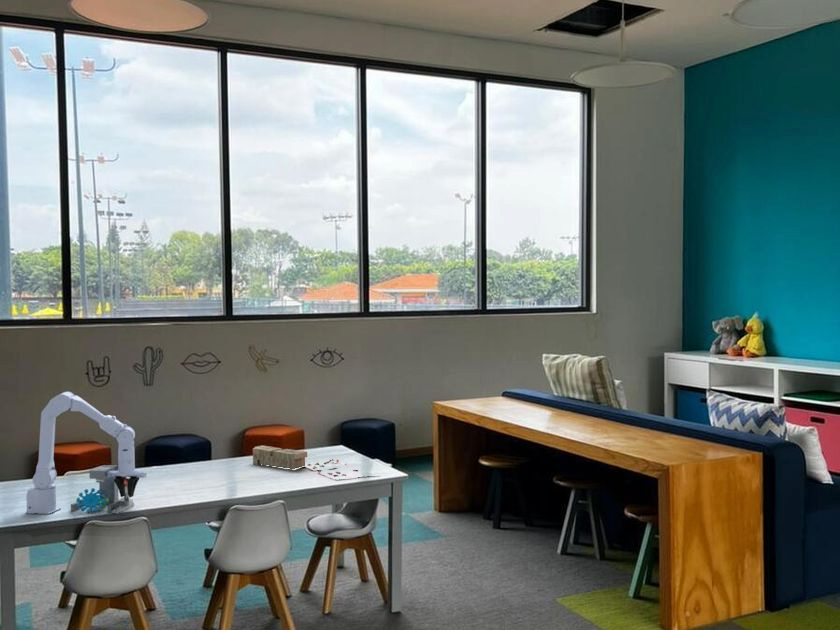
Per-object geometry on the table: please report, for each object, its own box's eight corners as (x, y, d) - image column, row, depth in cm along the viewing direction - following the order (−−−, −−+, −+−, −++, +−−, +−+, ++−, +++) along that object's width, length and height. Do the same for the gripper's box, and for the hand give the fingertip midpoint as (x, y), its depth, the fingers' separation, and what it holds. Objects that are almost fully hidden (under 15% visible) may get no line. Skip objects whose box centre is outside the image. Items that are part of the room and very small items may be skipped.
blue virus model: (73, 510, 298) (79, 486, 305) (73, 518, 302) (78, 494, 309) (106, 512, 301) (110, 488, 308) (105, 520, 305) (110, 496, 312)
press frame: (68, 512, 301) (68, 474, 301) (92, 500, 317) (91, 464, 317) (117, 513, 299) (117, 475, 298) (138, 502, 315) (138, 465, 315)
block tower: (250, 466, 386) (295, 471, 368) (250, 447, 386) (294, 452, 368) (263, 463, 392) (307, 468, 375) (262, 445, 392) (307, 449, 374)
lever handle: (121, 504, 307) (121, 479, 307) (125, 502, 310) (124, 477, 310) (129, 505, 307) (128, 479, 306) (132, 503, 310) (132, 477, 309)
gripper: (102, 461, 305) (103, 498, 305) (140, 462, 303) (140, 499, 303) (112, 458, 312) (112, 494, 312) (148, 458, 310) (149, 494, 310)
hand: (127, 496), depth 308 cm, fingers closed on lever handle, 3 cm apart
